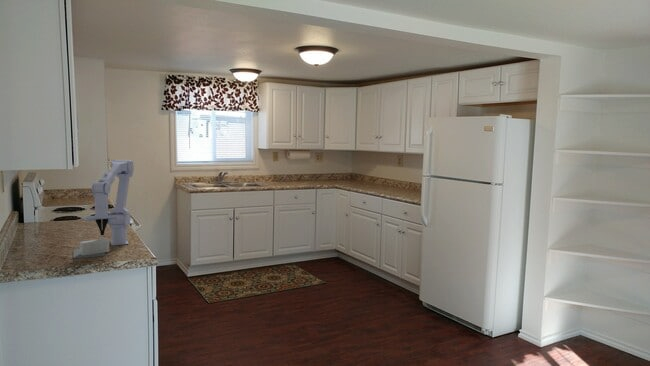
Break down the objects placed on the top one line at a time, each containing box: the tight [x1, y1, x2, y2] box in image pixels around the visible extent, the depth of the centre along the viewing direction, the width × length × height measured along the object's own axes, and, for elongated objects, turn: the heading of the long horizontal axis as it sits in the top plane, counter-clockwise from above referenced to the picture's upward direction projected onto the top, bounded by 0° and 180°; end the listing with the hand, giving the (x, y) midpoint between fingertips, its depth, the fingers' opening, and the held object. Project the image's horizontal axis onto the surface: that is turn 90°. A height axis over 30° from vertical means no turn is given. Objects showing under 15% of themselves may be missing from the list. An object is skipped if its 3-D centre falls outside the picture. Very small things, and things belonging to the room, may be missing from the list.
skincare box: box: [79, 238, 110, 256], centre depth 219 cm, size 6×4×12 cm
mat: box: [72, 248, 106, 260], centre depth 221 cm, size 18×13×1 cm
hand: (102, 234), depth 223 cm, fingers closed
